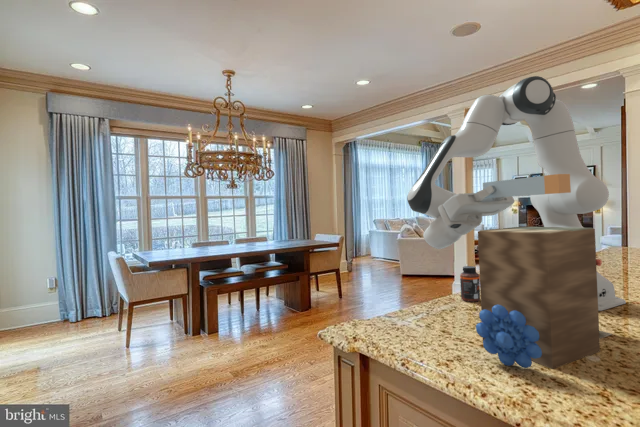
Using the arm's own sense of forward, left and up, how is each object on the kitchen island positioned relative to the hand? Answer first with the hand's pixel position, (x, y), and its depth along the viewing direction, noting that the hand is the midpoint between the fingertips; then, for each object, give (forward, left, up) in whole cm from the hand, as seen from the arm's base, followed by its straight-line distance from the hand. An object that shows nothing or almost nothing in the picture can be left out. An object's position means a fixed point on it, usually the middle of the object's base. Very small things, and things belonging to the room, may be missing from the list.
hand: (501, 187), depth 89 cm
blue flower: (+15, +16, -37) cm, 43 cm away
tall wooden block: (+1, +10, -36) cm, 38 cm away
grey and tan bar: (-1, +6, -2) cm, 6 cm away
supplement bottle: (-12, -29, -37) cm, 48 cm away
